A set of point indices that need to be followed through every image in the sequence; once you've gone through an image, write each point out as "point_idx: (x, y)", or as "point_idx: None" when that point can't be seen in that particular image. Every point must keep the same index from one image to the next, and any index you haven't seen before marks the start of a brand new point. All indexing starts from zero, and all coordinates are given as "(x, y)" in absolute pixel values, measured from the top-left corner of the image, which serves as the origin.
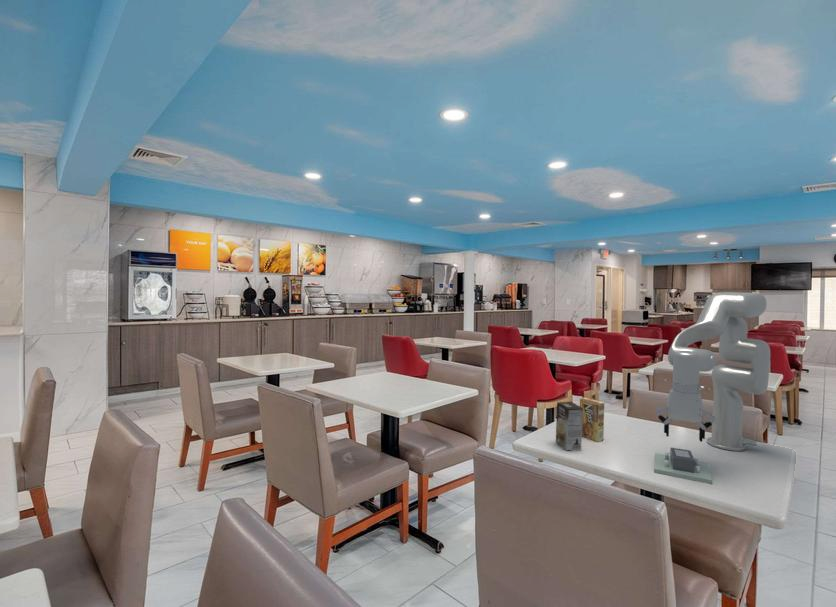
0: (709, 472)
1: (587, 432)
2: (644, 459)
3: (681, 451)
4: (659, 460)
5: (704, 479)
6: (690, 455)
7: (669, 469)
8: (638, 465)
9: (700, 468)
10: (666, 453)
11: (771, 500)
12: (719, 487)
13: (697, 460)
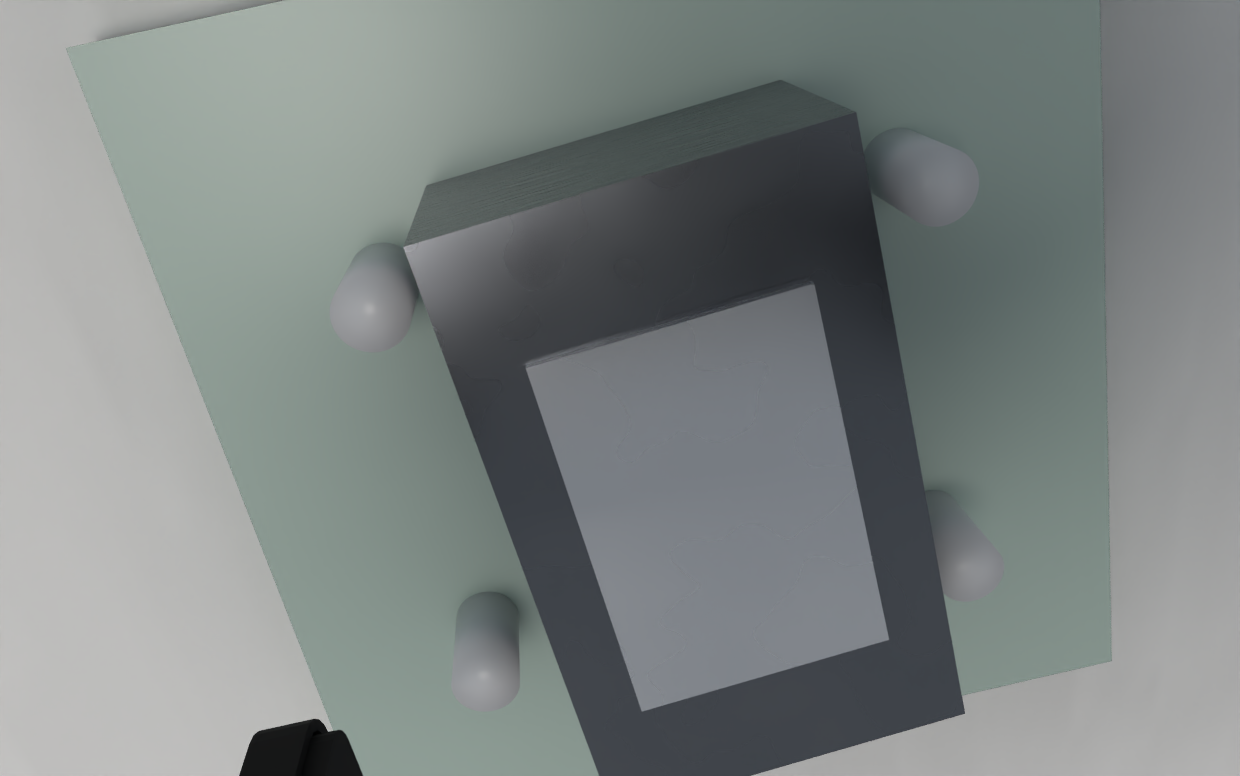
0: (1095, 387)
1: None
2: (38, 383)
3: (687, 391)
4: (307, 436)
5: (1014, 676)
6: (878, 474)
7: (556, 708)
8: (104, 709)
9: (965, 302)
10: (361, 307)
11: None
12: (1159, 662)
13: (953, 217)
